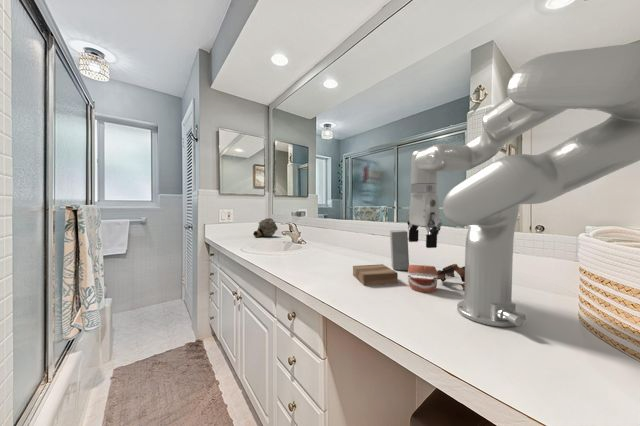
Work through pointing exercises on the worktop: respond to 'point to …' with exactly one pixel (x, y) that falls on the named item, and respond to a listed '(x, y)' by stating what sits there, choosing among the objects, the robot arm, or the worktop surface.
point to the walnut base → (375, 274)
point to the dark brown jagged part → (452, 273)
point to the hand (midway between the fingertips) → (421, 244)
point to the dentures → (422, 283)
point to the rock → (266, 228)
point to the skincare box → (399, 249)
